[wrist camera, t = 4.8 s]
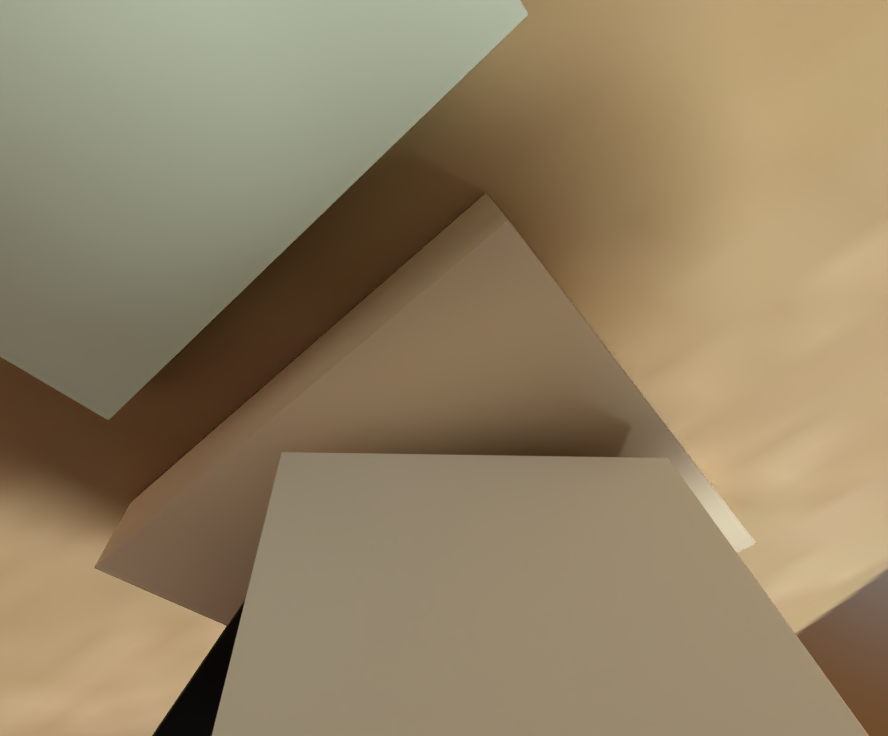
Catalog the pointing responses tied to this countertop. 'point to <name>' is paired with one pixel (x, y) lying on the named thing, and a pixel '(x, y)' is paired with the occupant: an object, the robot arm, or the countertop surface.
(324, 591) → the white cabinet cube
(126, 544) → the post base
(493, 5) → the pad
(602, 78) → the countertop surface
